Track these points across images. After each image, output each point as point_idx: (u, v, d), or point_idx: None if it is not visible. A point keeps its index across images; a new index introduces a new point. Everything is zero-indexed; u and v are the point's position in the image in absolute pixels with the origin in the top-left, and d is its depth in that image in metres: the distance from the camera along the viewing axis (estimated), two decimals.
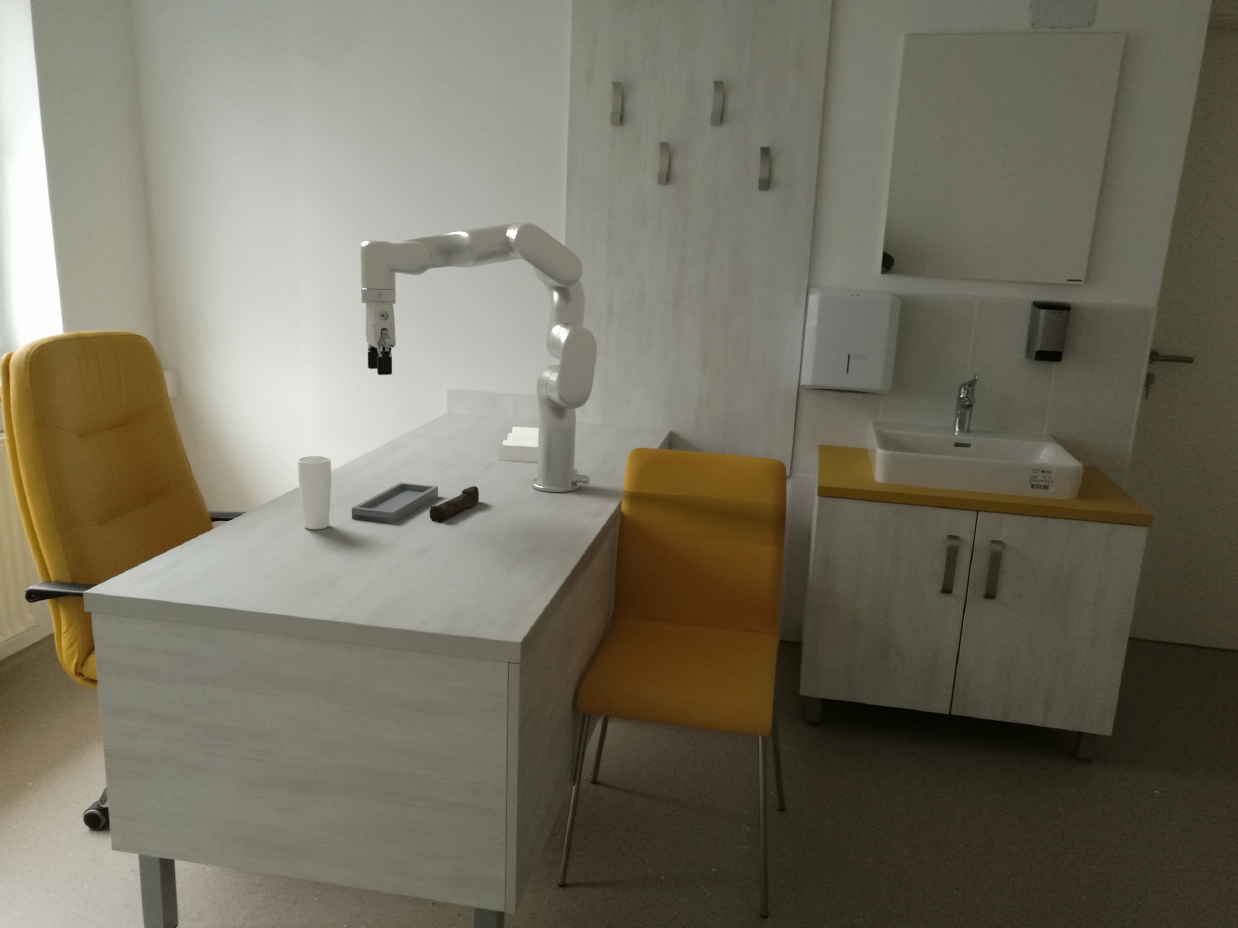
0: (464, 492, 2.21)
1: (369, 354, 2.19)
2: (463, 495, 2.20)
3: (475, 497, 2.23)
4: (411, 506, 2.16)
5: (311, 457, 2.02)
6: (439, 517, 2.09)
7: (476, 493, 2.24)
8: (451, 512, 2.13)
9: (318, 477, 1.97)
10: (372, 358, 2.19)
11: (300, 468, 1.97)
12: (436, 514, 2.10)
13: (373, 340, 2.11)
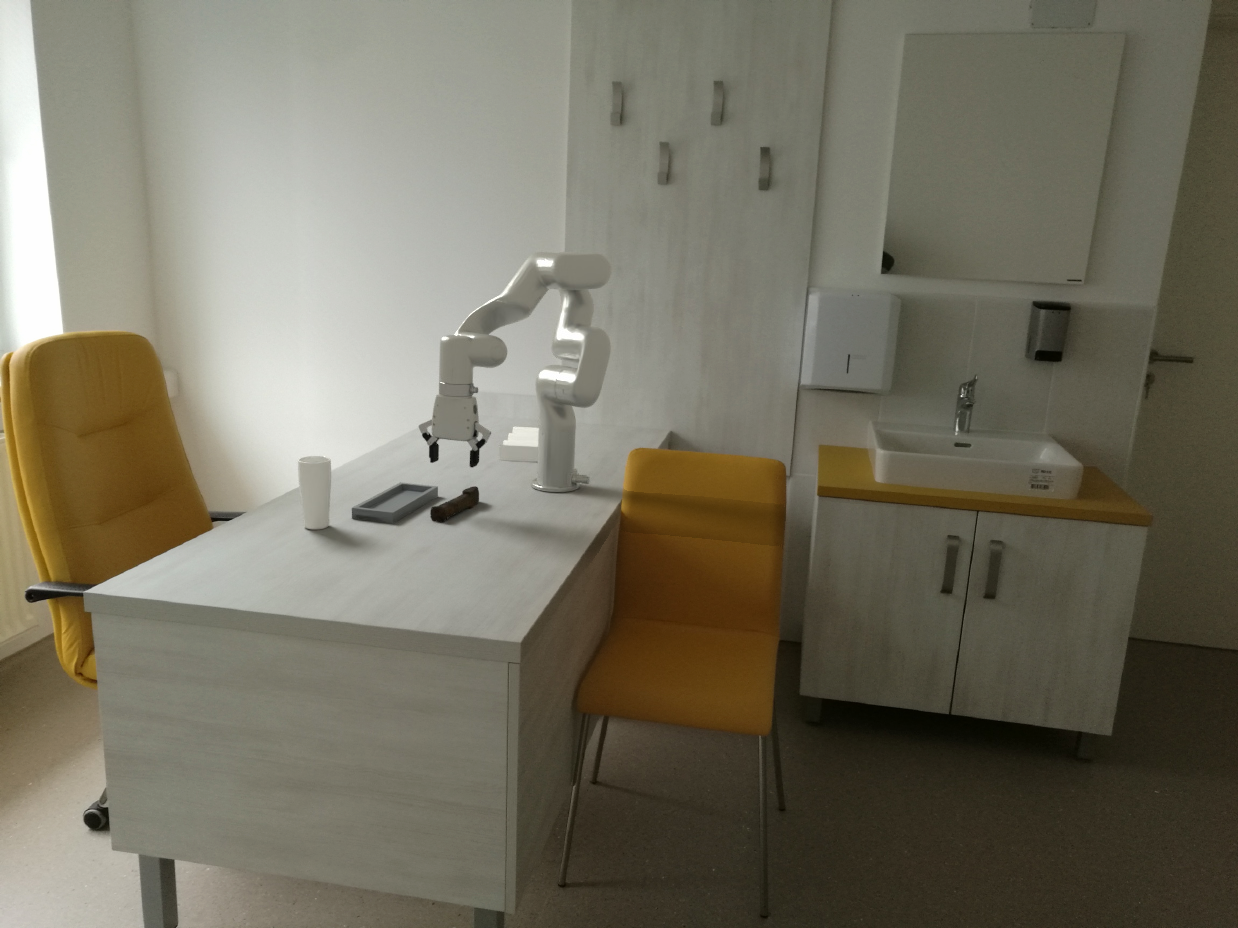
0: (464, 492, 2.21)
1: (433, 448, 2.14)
2: (463, 495, 2.20)
3: (475, 497, 2.23)
4: (411, 506, 2.16)
5: (311, 457, 2.02)
6: (440, 517, 2.09)
7: (476, 493, 2.24)
8: (452, 512, 2.13)
9: (318, 477, 1.97)
10: (434, 452, 2.15)
11: (300, 468, 1.97)
12: (437, 515, 2.09)
13: (465, 434, 2.11)
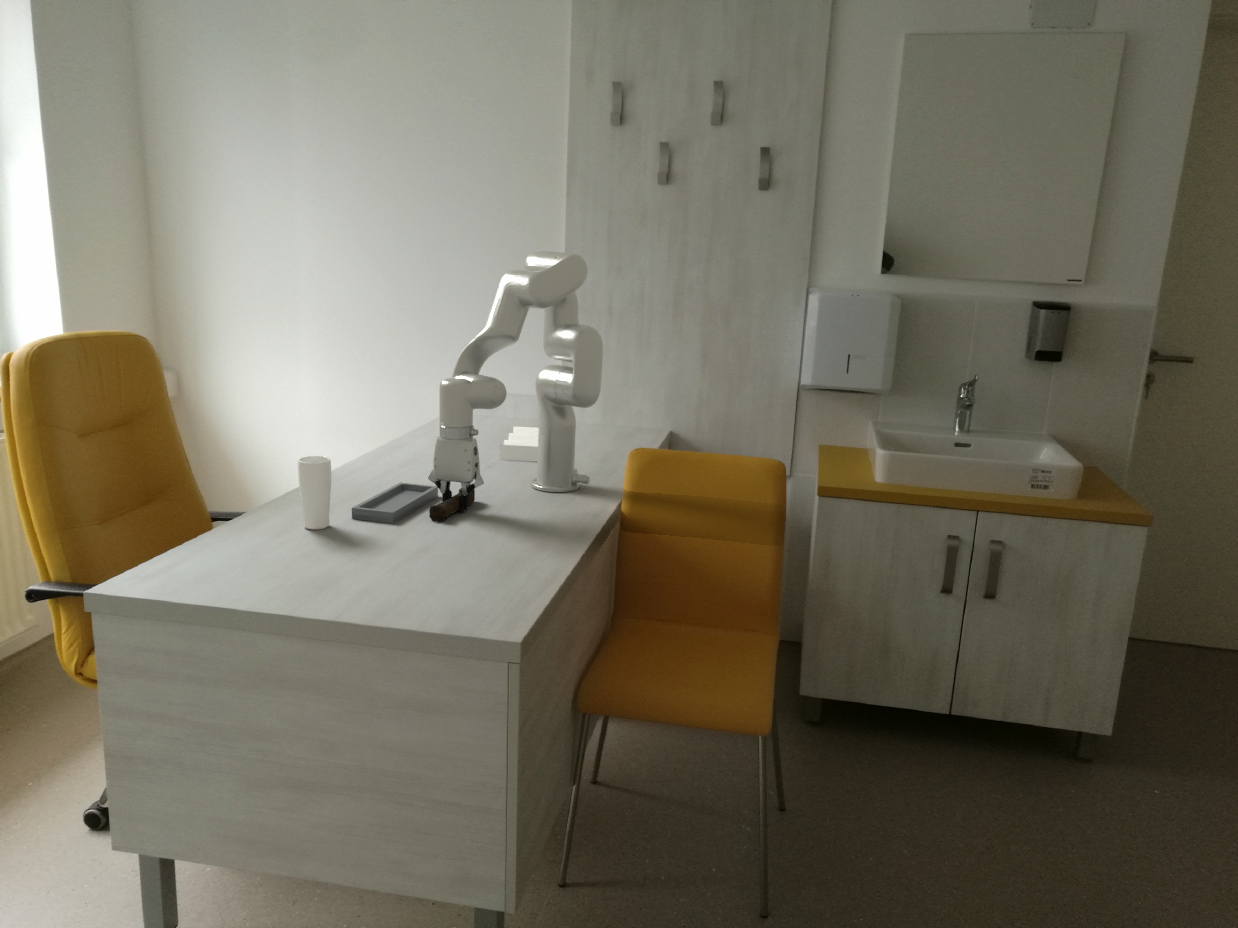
0: (461, 491, 2.21)
1: (446, 496, 2.17)
2: (460, 494, 2.20)
3: (472, 496, 2.23)
4: (411, 506, 2.16)
5: (311, 457, 2.02)
6: (440, 516, 2.09)
7: (473, 492, 2.24)
8: (450, 511, 2.13)
9: (318, 477, 1.97)
10: None
11: (300, 468, 1.97)
12: (437, 514, 2.09)
13: (466, 476, 2.14)
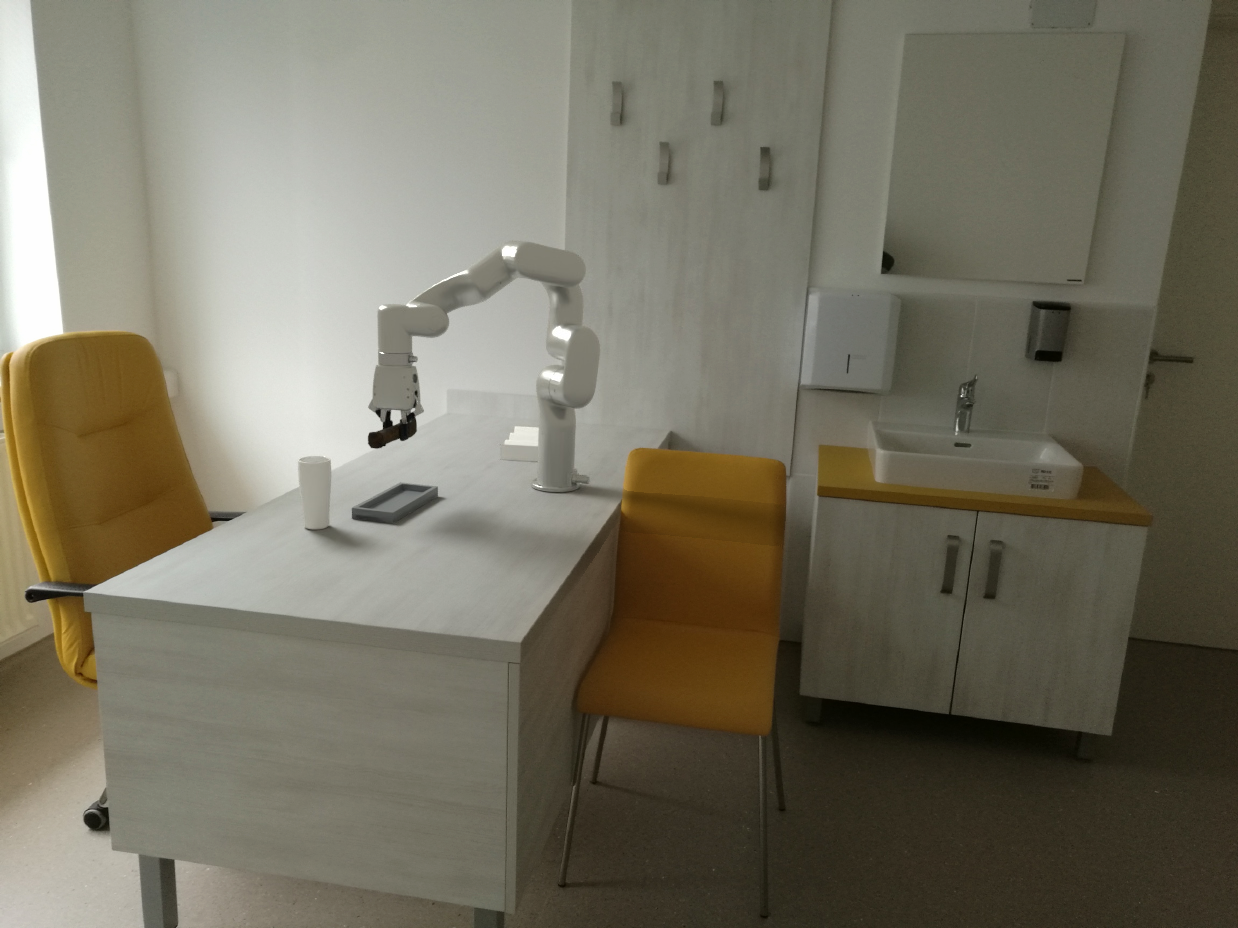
0: None
1: (386, 425, 2.14)
2: (401, 423, 2.17)
3: (413, 426, 2.21)
4: (411, 506, 2.16)
5: (311, 457, 2.02)
6: (378, 442, 2.07)
7: (414, 422, 2.21)
8: (390, 439, 2.10)
9: (318, 477, 1.97)
10: None
11: (300, 468, 1.97)
12: (375, 440, 2.07)
13: (406, 404, 2.11)
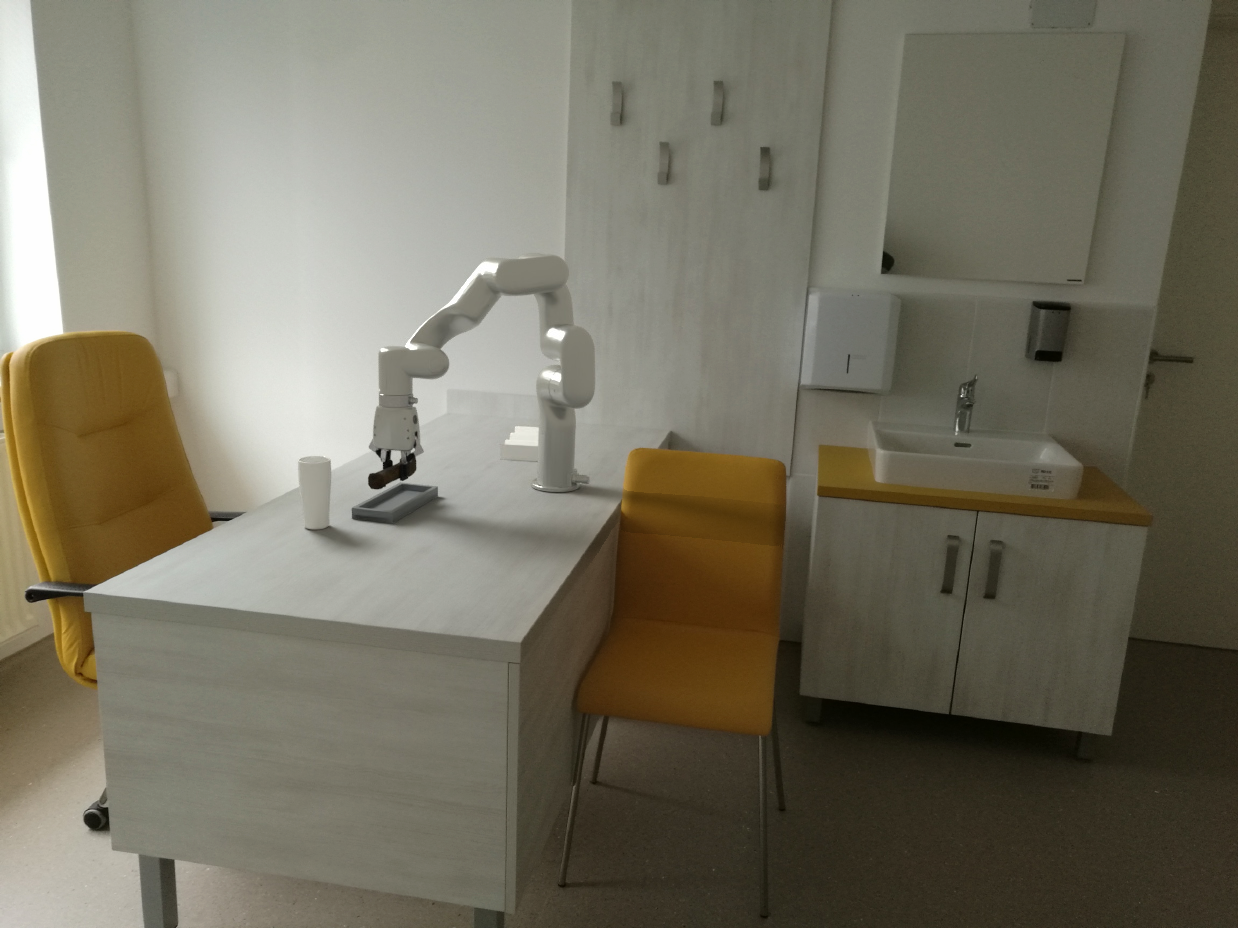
0: None
1: (387, 465, 2.16)
2: (401, 463, 2.19)
3: (413, 465, 2.23)
4: (411, 506, 2.16)
5: (311, 457, 2.02)
6: (378, 483, 2.09)
7: (414, 461, 2.23)
8: (390, 479, 2.12)
9: (318, 477, 1.97)
10: None
11: (300, 468, 1.97)
12: (375, 481, 2.09)
13: (406, 444, 2.13)
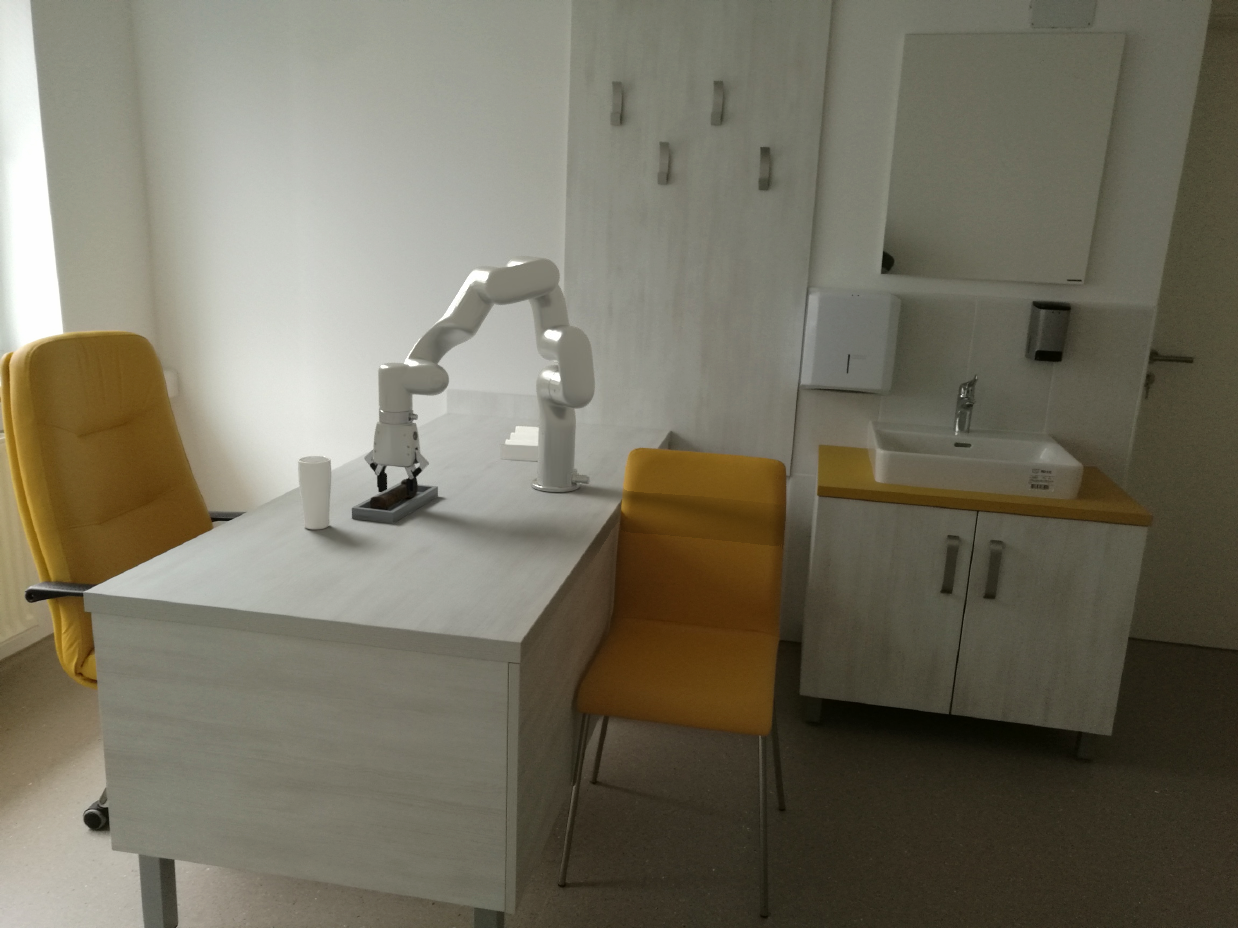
0: (403, 482, 2.22)
1: (381, 478, 2.18)
2: (402, 485, 2.21)
3: None
4: (411, 506, 2.16)
5: (311, 457, 2.02)
6: (380, 507, 2.10)
7: None
8: (391, 502, 2.14)
9: (318, 477, 1.97)
10: (382, 481, 2.18)
11: (300, 468, 1.97)
12: (377, 505, 2.10)
13: (406, 461, 2.14)
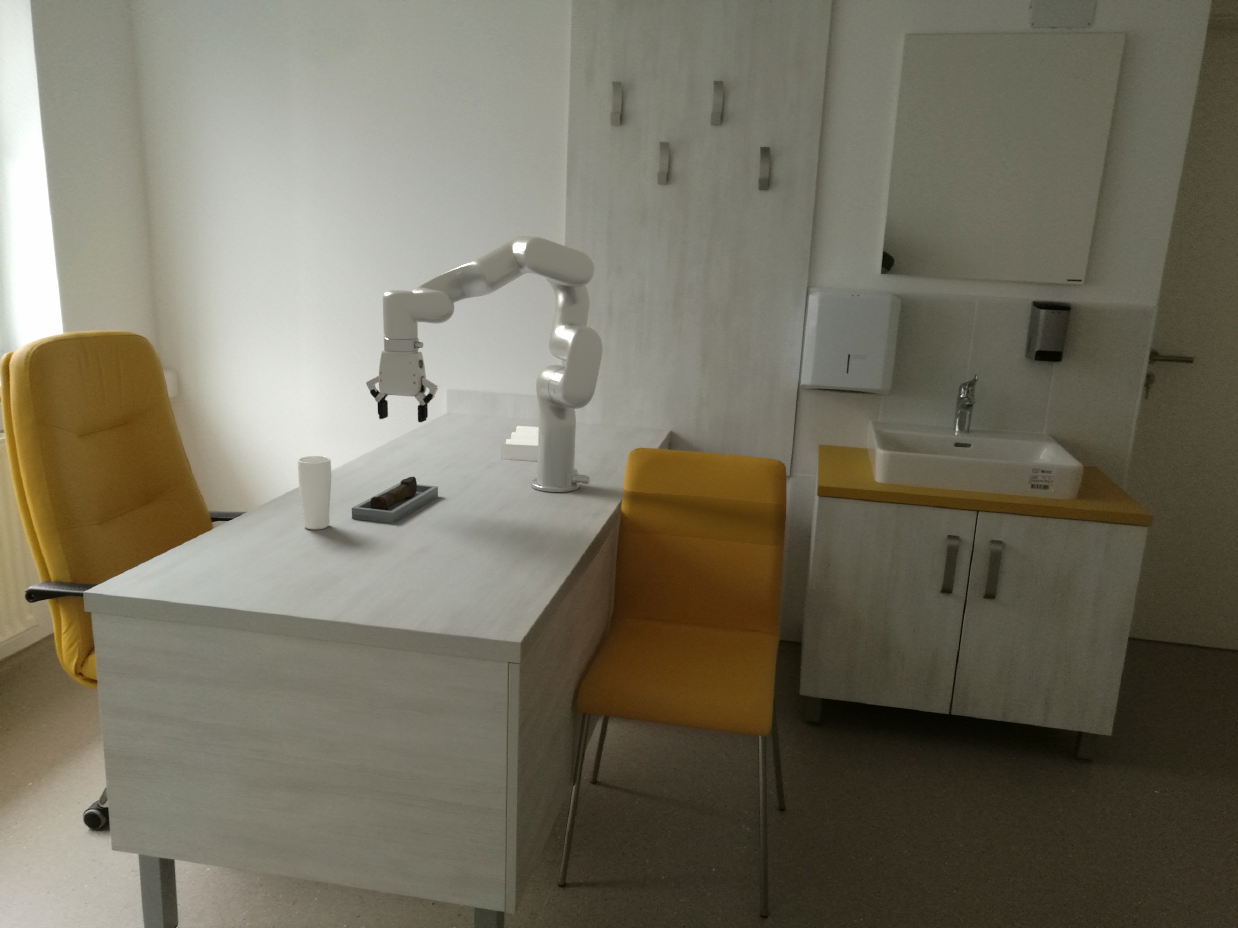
0: (403, 482, 2.22)
1: (381, 404, 2.16)
2: (402, 485, 2.21)
3: (414, 487, 2.24)
4: (411, 506, 2.16)
5: (311, 457, 2.02)
6: (381, 507, 2.10)
7: (414, 483, 2.25)
8: (392, 502, 2.14)
9: (318, 477, 1.97)
10: (383, 408, 2.16)
11: (300, 468, 1.97)
12: (378, 505, 2.10)
13: (412, 389, 2.12)
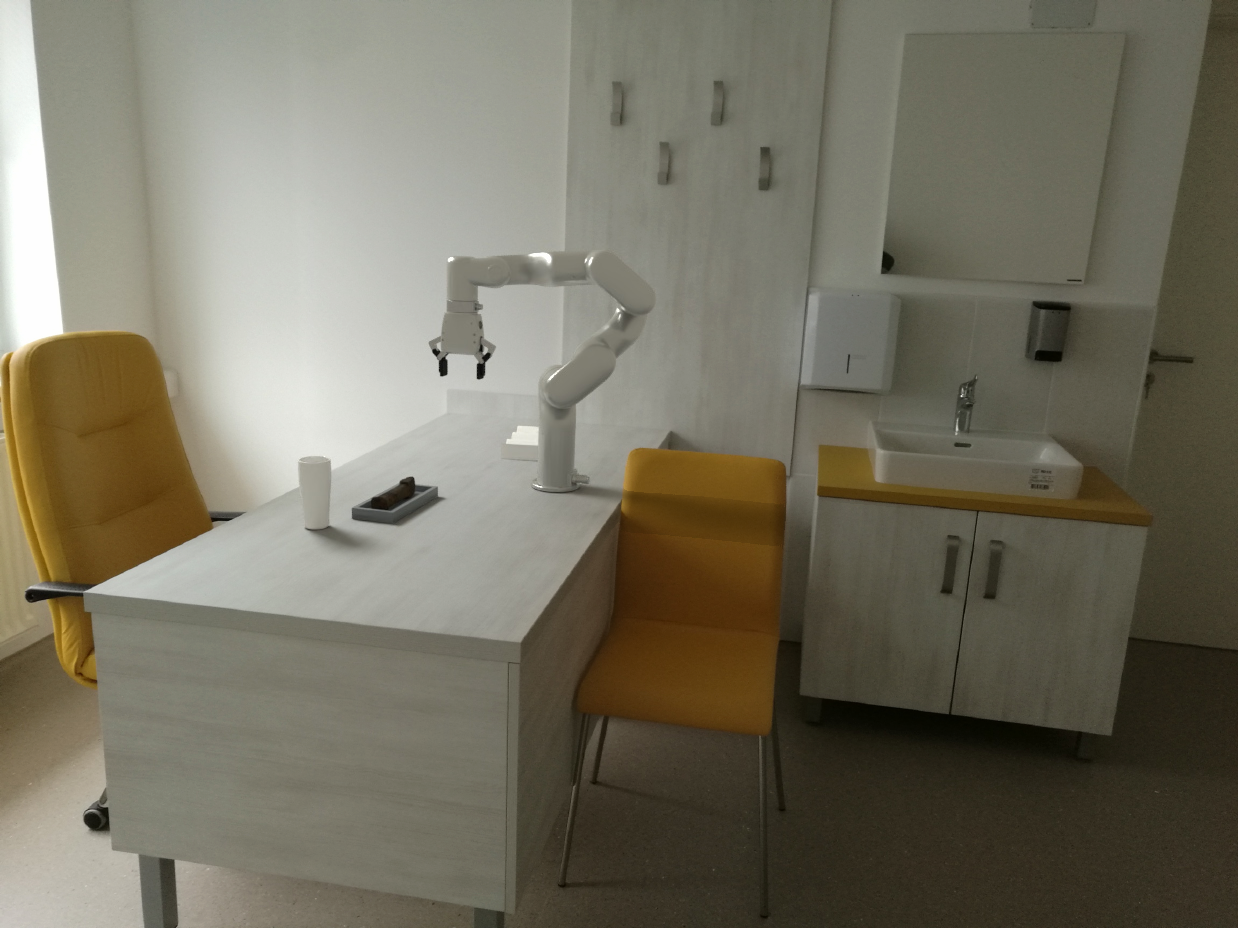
0: (402, 482, 2.22)
1: (442, 363, 2.31)
2: (401, 485, 2.21)
3: (412, 487, 2.25)
4: (411, 506, 2.16)
5: (311, 457, 2.02)
6: (381, 507, 2.10)
7: (413, 483, 2.25)
8: (392, 502, 2.14)
9: (318, 477, 1.97)
10: (444, 366, 2.32)
11: (300, 468, 1.97)
12: (378, 505, 2.10)
13: (472, 348, 2.28)
